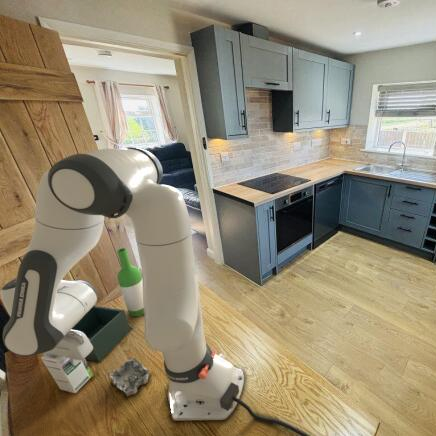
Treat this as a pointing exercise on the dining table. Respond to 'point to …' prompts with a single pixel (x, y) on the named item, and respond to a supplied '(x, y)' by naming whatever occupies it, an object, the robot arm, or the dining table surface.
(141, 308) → the wine bottle
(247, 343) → the dining table surface
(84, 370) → the syrup box
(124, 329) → the waste bin
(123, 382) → the grey jagged rectangular tray
